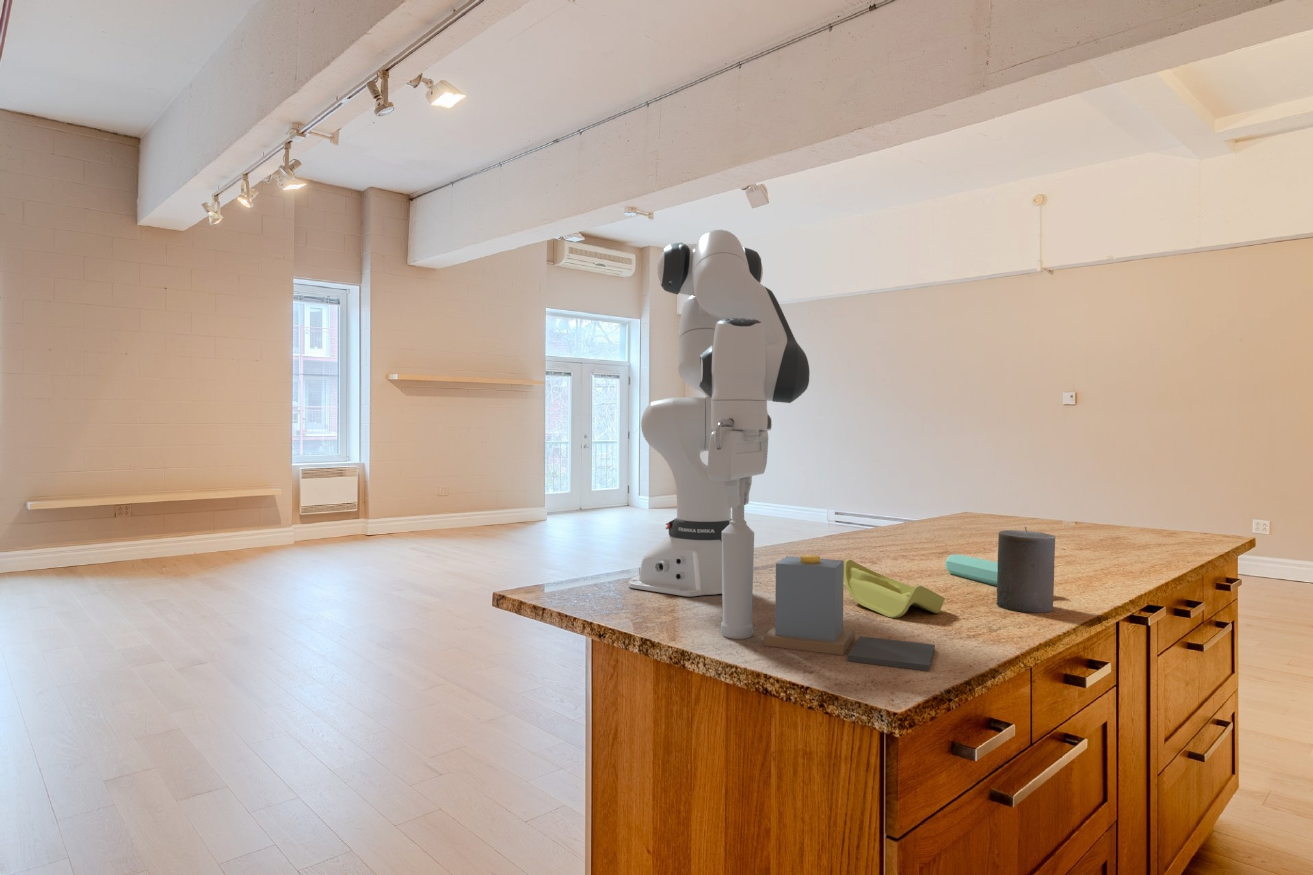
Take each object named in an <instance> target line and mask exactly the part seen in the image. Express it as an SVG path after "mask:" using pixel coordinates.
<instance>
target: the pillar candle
mask: <svg viewBox="0 0 1313 875" xmlns="http://www.w3.org/2000/svg"><path fill="white" fill-rule="evenodd" d="M1024 529H1025V530H1020V529H1016V530H1015V529H1014V530H1013V529H1011V530H1010V529H1008V530H1001V531H998V539H997V540H998V542H997V544H998V545H997V562H998V565H997V567H998V573H997V586H996V603H995V604H996V605H997V606H998V607H1000V608H1001V609H1005V610H1010V611H1015V612H1019V613H1020V612H1021V613H1029V614H1031V613H1033V614H1034V613H1035V614H1043V613H1049V612H1050V613H1051V612H1053V611H1054V595H1055V594H1054V593H1055V592H1054V589H1055V559H1056V558H1055V557H1056V556H1055V554H1056V551H1055V550H1056V535H1054V534H1050V533H1045V532H1039V531H1032V530H1031V531H1030V530H1027V526H1024Z"/></svg>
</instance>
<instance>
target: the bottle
mask: <svg viewBox="0 0 1313 875" xmlns="http://www.w3.org/2000/svg"><path fill="white" fill-rule="evenodd" d="M744 491H745V479H743V478H741V479H740V485H739V496H741V501H740V502H741V505H740V507H737V508H731V519H732V520H731V521H730V524H729V525H728V526H727V527H726V528H725V529H724V530H723V531H722V600H721V601H722V621H721V623H720V630H721V634H722V637H725V638H727V639H734V640H743V639H744V640H745V639H749V638H751V637H752V636H753V634H754V623H753V620H752V619H753V594H754V593H753V592H754V591H753V589H754V585H753V584H754V556H755V555H754V552H755V550H754V549H755V531H753V529H752V528H750V527H749V525H747V521H746V520H745V505H744Z"/></svg>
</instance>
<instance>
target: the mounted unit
mask: <svg viewBox="0 0 1313 875" xmlns="http://www.w3.org/2000/svg"><path fill="white" fill-rule="evenodd" d="M844 562H845V560H842V559H841V560H840V559H839V560H838V559H829V558H828V559H826V558H821V556H819V555H815V554H814V555H811V554H805V555H800V556H789V555H787V556H785V557H783V558H782V559H781V560H778V562H776V563H775V600H774V601H775V606H774V607H775V608H774V609H775V611H774V612H775V614H774V615H775V617H774V619H775V620H774V621H775V622H774V624H775V625H774V626H773V627H772V628H770V629H769V630H768V631H767V632H766V633H764V635H763V646H764V647H772V648H783V649H790V650H796V651H797V650H799V651H805V652H814V653H822V654H823V653H824V654H830V655H838V656H844V655H845V654H846V652H847V651H848V649H849V648H850V646H851V645H852V643H853V642H854V640H855V638H856V629H855V628H850V627H844V585H845V581H844Z"/></svg>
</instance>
